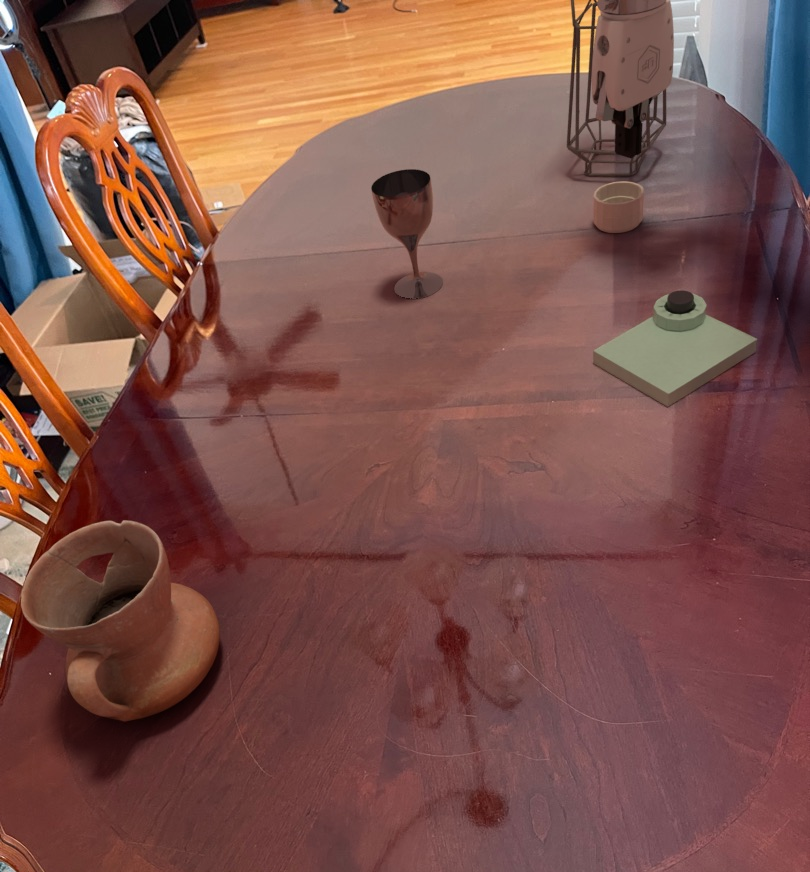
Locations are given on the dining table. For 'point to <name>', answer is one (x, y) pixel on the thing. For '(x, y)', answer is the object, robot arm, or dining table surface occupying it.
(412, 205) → the wine glass
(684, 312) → the button
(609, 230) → the bowl
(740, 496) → the dining table surface
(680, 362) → the scale
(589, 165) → the geometric lantern
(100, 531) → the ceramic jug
